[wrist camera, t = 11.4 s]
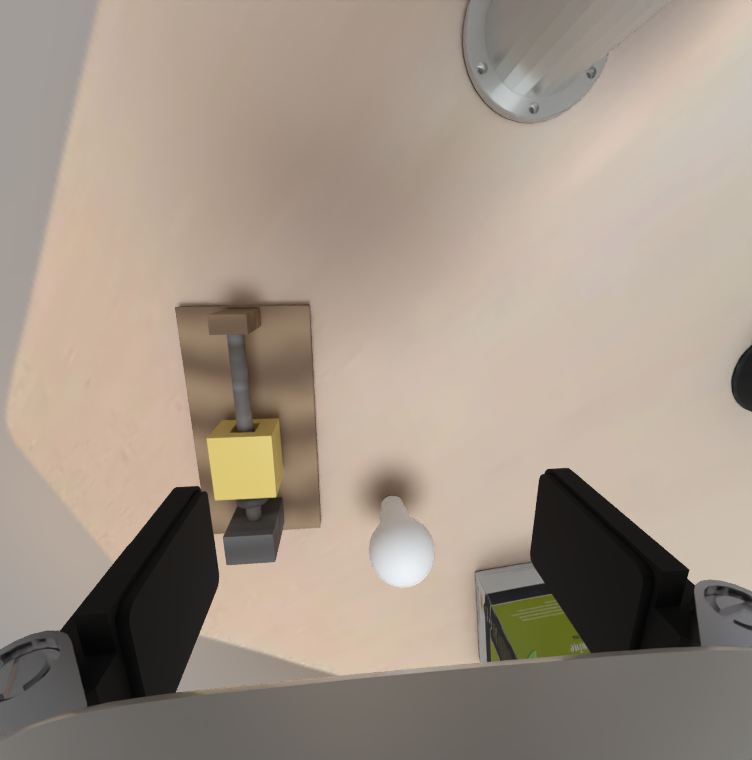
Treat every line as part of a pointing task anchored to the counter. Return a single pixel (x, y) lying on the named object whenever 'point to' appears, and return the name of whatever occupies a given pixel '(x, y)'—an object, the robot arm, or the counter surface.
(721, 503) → the counter surface
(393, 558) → the lightbulb
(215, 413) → the cable rail
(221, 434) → the sleeve
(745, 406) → the milk frother
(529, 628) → the tea box
